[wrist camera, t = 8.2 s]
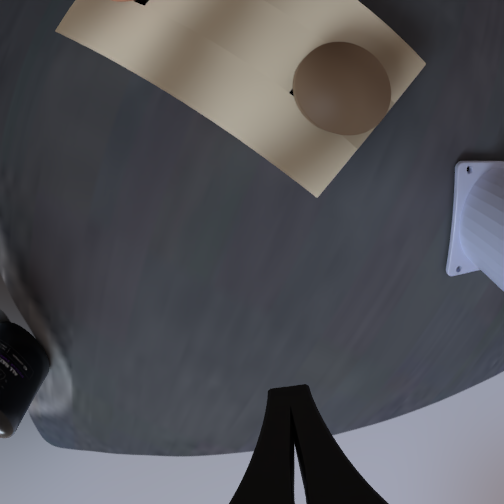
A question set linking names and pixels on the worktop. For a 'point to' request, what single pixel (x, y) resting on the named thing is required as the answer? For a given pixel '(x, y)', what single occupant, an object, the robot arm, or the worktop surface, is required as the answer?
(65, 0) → the worktop surface
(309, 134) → the board
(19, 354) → the supplement bottle
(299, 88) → the walnut plunger
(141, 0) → the terracotta plunger
